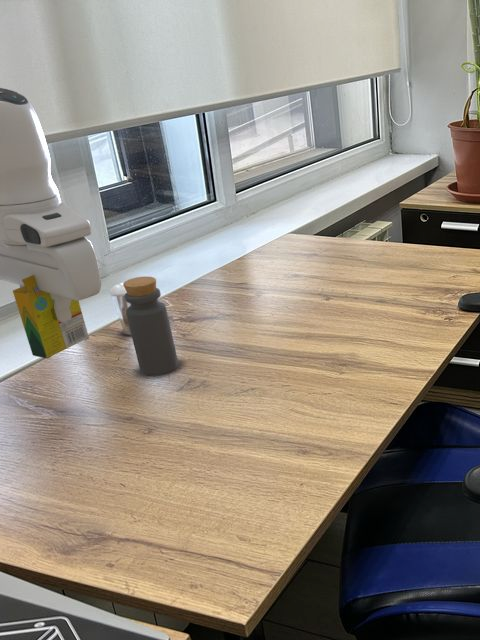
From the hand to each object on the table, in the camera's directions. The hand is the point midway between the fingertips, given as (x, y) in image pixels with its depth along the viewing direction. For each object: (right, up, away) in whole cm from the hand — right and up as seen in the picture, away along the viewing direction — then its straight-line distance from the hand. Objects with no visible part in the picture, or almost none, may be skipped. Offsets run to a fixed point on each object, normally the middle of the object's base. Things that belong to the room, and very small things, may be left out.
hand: (53, 317), depth 98 cm
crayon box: (0, -4, +2) cm, 5 cm away
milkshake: (-3, -1, +31) cm, 31 cm away
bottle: (+7, -8, +17) cm, 20 cm away
